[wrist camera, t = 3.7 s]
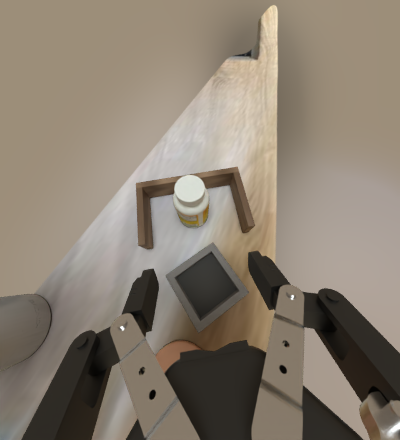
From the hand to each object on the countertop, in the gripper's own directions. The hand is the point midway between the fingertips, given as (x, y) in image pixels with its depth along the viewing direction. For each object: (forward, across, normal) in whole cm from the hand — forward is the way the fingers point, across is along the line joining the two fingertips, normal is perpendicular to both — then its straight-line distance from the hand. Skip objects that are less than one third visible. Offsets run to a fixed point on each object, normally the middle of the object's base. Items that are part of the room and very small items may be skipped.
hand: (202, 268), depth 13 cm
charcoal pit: (+8, 0, +11) cm, 14 cm away
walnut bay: (+17, 0, +2) cm, 17 cm away
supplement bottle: (+17, 0, +2) cm, 17 cm away
